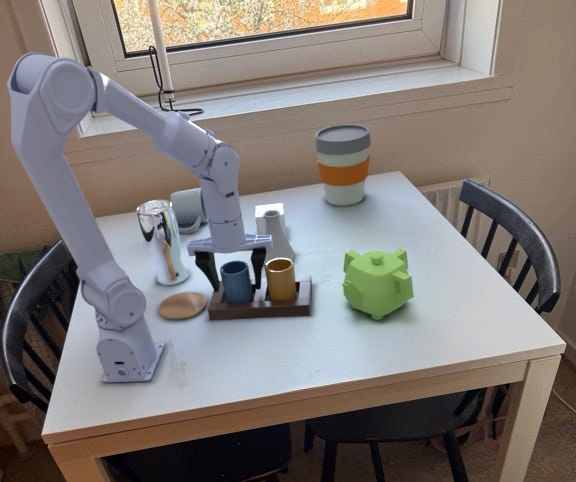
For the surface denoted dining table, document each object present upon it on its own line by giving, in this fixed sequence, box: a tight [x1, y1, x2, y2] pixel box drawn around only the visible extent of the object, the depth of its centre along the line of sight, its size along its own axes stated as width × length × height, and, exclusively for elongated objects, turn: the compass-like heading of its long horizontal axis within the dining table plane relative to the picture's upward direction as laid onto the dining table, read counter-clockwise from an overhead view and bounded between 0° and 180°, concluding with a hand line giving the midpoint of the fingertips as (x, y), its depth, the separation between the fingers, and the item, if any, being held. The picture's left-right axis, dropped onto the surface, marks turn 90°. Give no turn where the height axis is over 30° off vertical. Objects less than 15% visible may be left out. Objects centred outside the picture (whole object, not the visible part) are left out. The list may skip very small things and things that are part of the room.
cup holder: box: [207, 275, 313, 321], centre depth 100 cm, size 10×18×2 cm, turn 86°
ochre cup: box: [264, 258, 298, 301], centre depth 98 cm, size 5×5×8 cm
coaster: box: [158, 291, 208, 321], centre depth 103 cm, size 9×9×1 cm
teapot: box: [341, 248, 415, 321], centre depth 93 cm, size 12×12×10 cm
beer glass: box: [135, 199, 189, 286], centre depth 107 cm, size 7×7×15 cm
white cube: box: [254, 202, 287, 237], centre depth 119 cm, size 6×6×6 cm
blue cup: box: [219, 260, 255, 303], centre depth 99 cm, size 5×5×8 cm
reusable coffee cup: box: [314, 123, 372, 207], centre depth 128 cm, size 13×13×15 cm
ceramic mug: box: [168, 187, 208, 235], centre depth 128 cm, size 11×8×8 cm
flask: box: [263, 210, 296, 266], centre depth 109 cm, size 7×7×10 cm
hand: (238, 287), depth 99 cm, fingers open, 7 cm apart
